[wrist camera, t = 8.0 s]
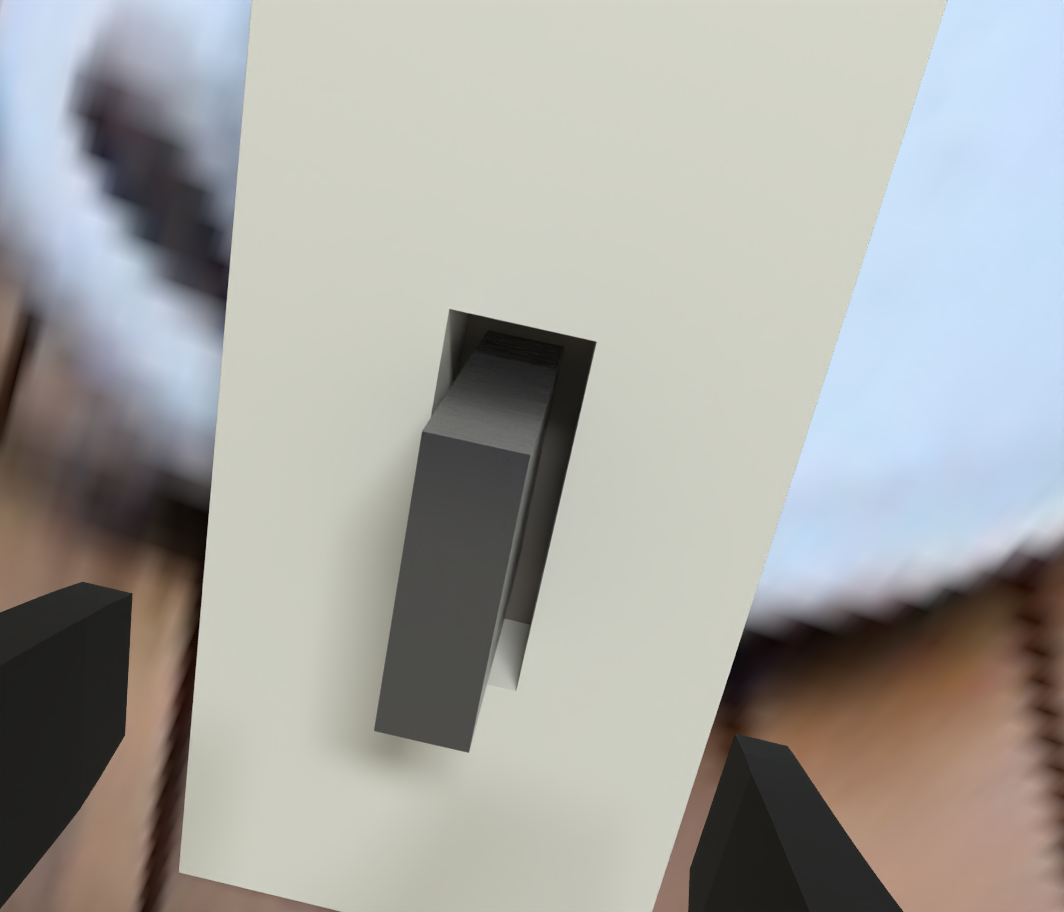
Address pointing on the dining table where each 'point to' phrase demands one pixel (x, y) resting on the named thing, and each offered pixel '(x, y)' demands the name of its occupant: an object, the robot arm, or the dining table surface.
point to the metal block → (465, 539)
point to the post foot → (573, 428)
